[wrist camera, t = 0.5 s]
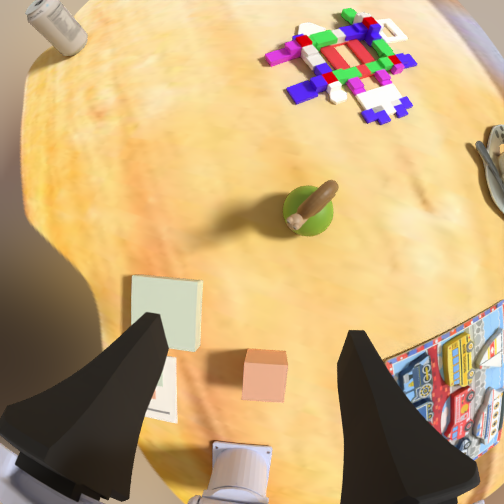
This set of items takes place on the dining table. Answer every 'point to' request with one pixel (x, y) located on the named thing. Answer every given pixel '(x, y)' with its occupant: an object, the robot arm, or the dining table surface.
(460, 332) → the puzzle board
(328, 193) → the snail figurine
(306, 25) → the building block set
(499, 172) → the salad plate
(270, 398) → the top brick
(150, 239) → the dining table surface
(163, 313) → the base brick
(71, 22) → the energy drink can
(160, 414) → the page
